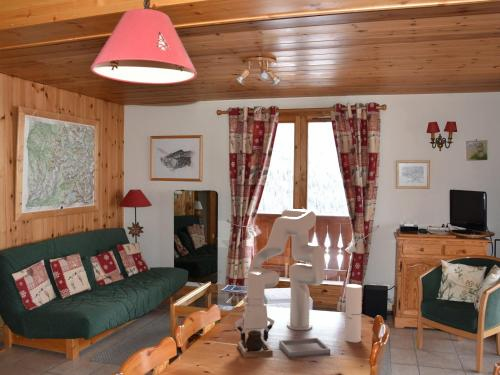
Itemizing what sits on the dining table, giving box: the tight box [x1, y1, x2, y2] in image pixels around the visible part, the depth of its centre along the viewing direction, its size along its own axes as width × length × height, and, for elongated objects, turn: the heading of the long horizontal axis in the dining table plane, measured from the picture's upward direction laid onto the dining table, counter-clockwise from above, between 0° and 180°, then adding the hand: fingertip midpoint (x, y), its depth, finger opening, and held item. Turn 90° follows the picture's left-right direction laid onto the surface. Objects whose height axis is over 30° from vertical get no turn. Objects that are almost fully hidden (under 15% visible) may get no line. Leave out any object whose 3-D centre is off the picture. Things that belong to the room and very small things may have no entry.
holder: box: [237, 339, 273, 359], centre depth 193 cm, size 13×12×2 cm
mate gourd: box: [245, 329, 263, 352], centre depth 193 cm, size 7×8×10 cm
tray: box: [278, 337, 331, 359], centre depth 194 cm, size 14×18×2 cm
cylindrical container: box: [344, 283, 363, 343], centre depth 208 cm, size 7×7×25 cm
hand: (254, 340), depth 193 cm, fingers open, 9 cm apart
